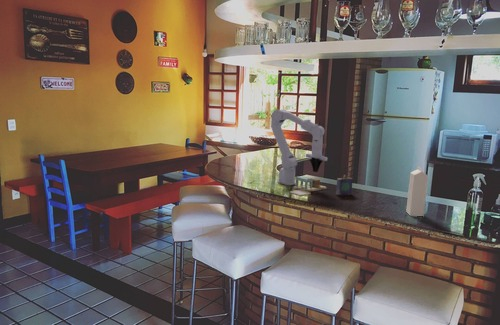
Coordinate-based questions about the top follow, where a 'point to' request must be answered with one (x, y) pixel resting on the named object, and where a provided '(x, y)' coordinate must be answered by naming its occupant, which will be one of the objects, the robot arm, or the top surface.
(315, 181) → the block
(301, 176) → the cover
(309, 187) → the board
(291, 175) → the robot arm
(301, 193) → the pad
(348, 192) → the flask
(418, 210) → the milk
